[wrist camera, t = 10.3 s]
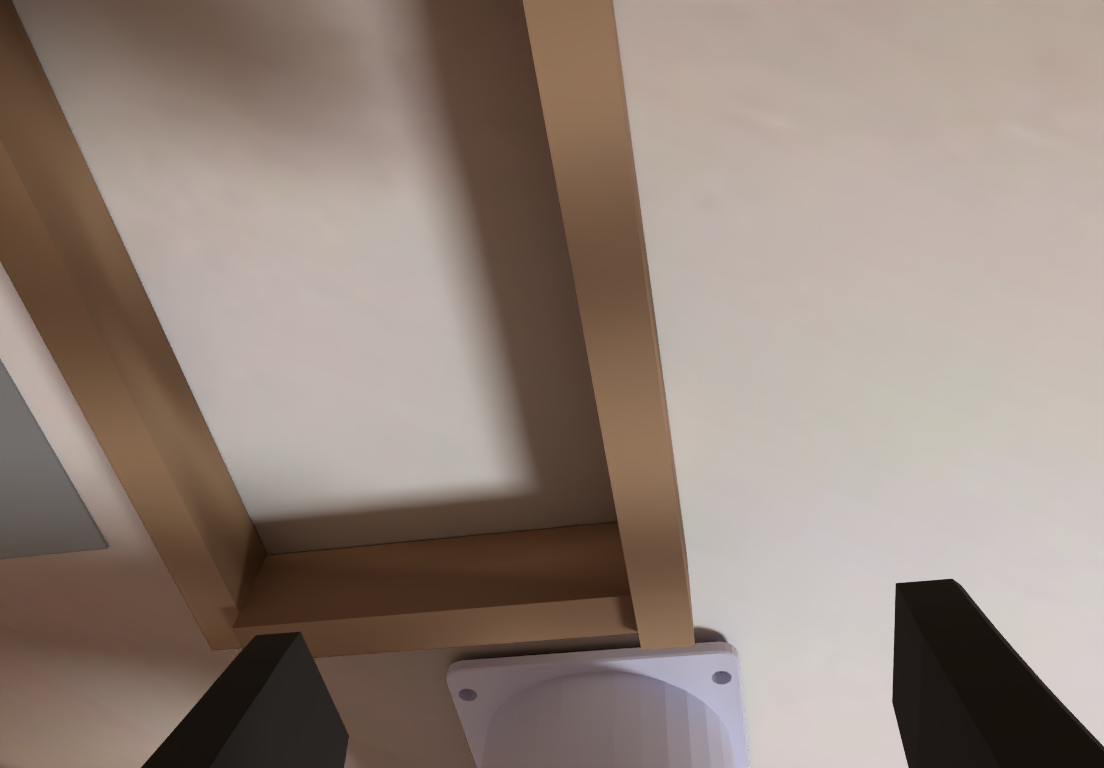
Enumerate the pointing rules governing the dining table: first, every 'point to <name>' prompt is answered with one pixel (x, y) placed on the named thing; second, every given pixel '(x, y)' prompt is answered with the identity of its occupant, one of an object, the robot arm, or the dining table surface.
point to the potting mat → (36, 488)
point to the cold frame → (390, 569)
